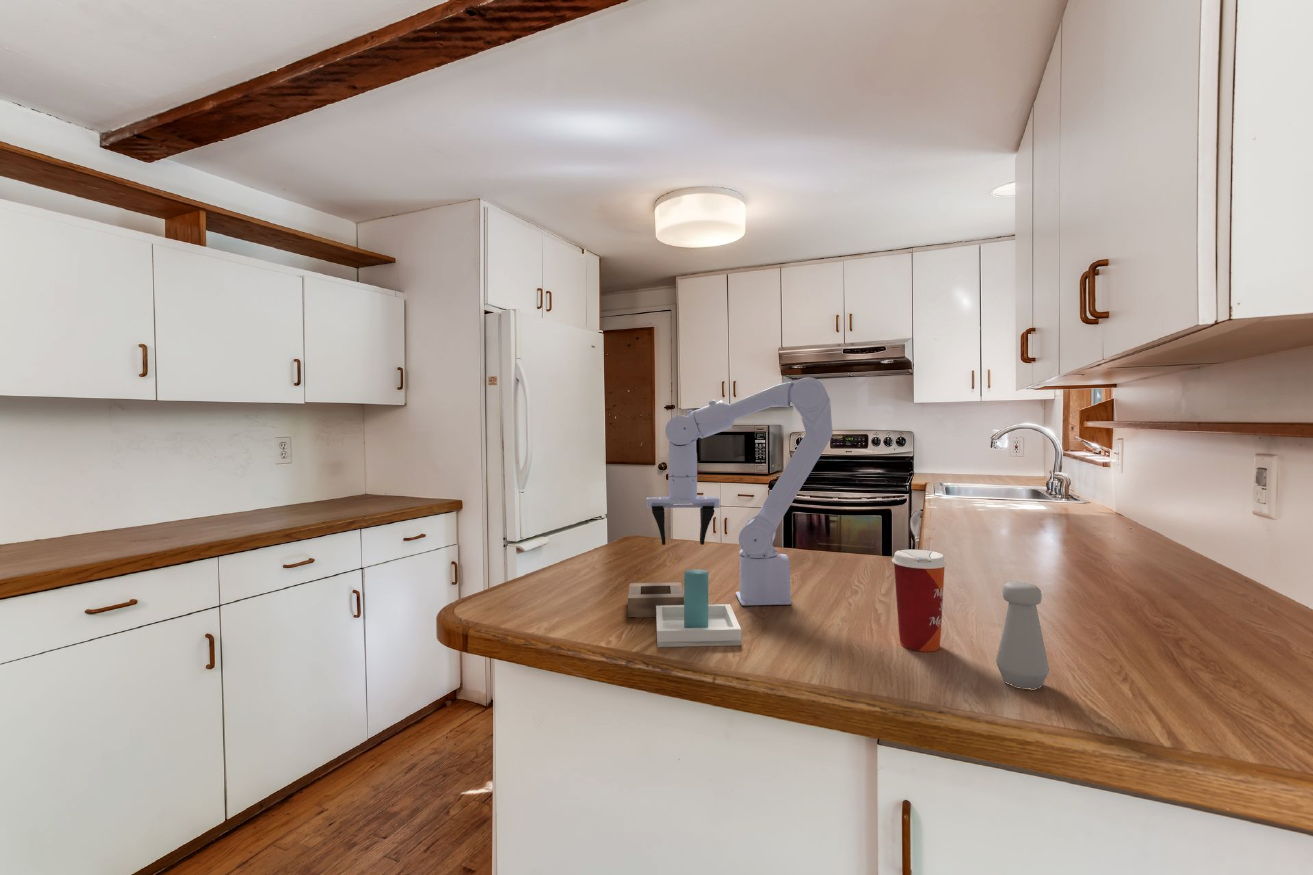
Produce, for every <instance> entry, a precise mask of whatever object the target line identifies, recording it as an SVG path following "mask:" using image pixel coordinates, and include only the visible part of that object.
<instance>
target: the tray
mask: <svg viewBox="0 0 1313 875" xmlns="http://www.w3.org/2000/svg"><path fill="white" fill-rule="evenodd" d="M655 618H656V621H655V622H656V644H657V645H656V647H657V648H676V647H677V648H679V647H683V648H685V647H715V646H716V647H722V646H723V647H724V646H729V647H731V646H742V628H741V626H740V624H739V622H738V619H737V617H736V615H735V612H734V610H733V607H732V606H731V604H730V603H720V604H714V603H713V604H708V628H685V627H684V605H664V606H656V617H655Z"/></svg>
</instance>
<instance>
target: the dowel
mask: <svg viewBox="0 0 1313 875" xmlns="http://www.w3.org/2000/svg"><path fill="white" fill-rule="evenodd" d="M683 580H684V581H683V595H684V627H685V628H708V605H709V571H708V570H705V569H697V568H696V569H695V568H694V569H686V570H685V571H684V574H683Z"/></svg>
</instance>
